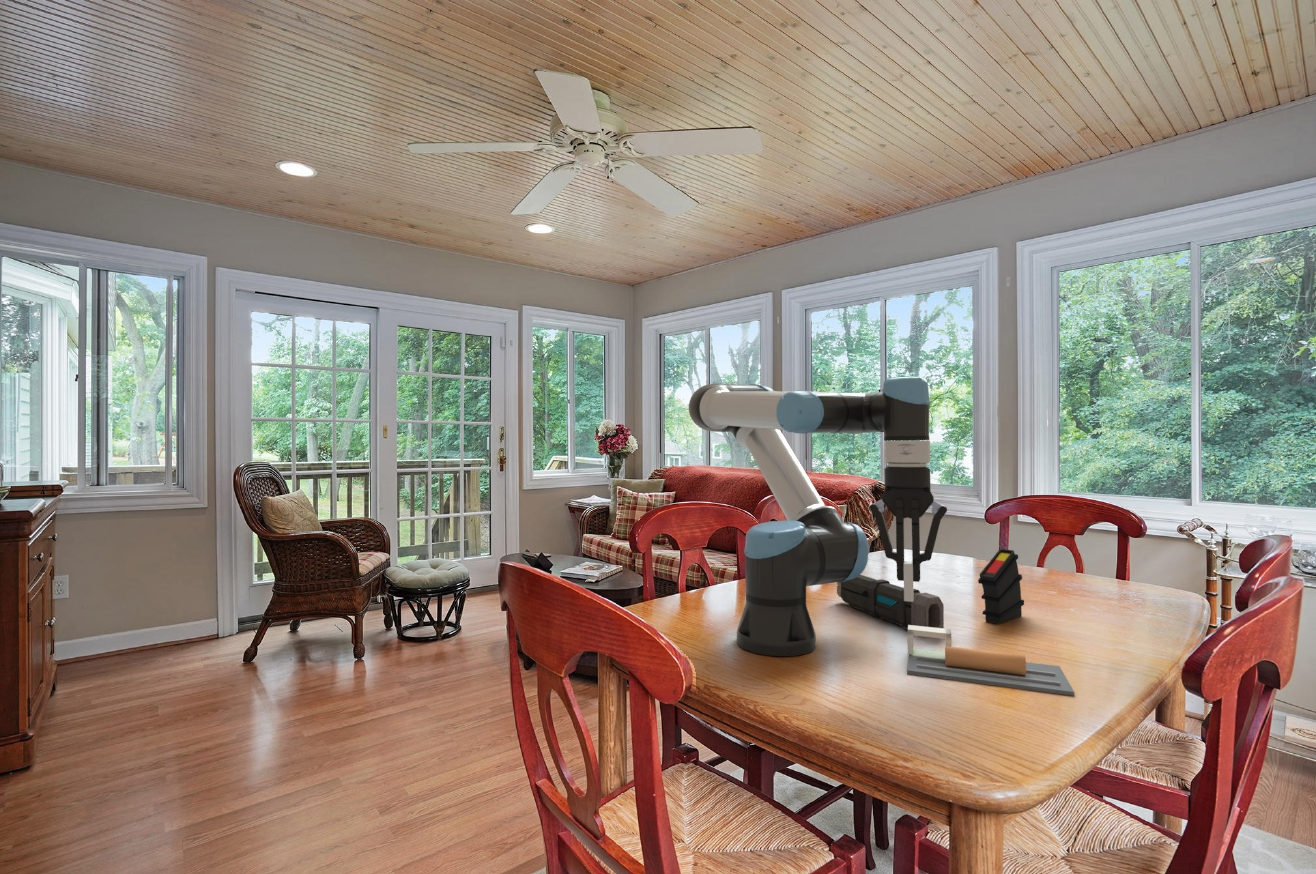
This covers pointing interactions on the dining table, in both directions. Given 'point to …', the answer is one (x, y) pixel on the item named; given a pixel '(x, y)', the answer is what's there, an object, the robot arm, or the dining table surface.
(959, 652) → the tan cylindrical rod
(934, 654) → the guide mat
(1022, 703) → the dining table surface
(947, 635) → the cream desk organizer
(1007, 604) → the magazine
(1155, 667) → the dining table surface
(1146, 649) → the dining table surface
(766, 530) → the robot arm
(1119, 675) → the dining table surface
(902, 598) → the tube
